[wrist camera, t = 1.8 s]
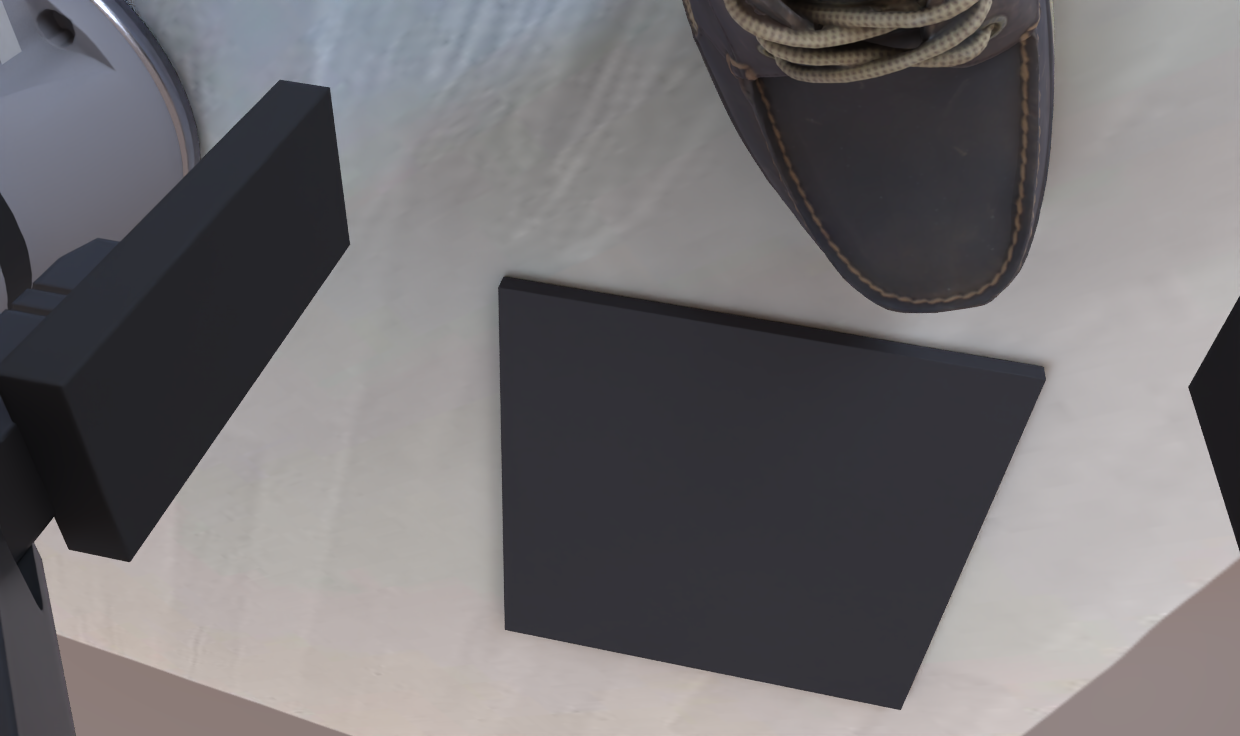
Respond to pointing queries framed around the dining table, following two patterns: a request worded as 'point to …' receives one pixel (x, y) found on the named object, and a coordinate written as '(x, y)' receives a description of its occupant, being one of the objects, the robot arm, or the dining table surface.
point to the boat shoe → (895, 132)
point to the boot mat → (742, 486)
